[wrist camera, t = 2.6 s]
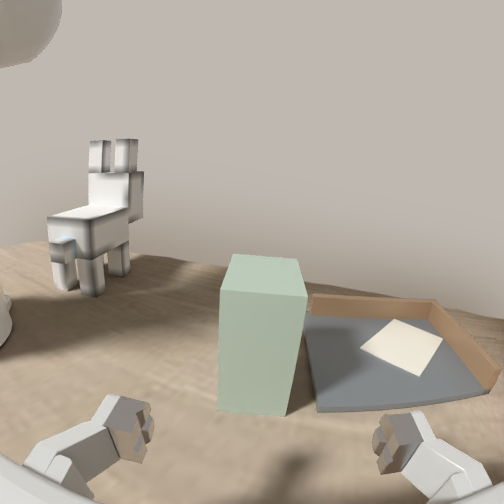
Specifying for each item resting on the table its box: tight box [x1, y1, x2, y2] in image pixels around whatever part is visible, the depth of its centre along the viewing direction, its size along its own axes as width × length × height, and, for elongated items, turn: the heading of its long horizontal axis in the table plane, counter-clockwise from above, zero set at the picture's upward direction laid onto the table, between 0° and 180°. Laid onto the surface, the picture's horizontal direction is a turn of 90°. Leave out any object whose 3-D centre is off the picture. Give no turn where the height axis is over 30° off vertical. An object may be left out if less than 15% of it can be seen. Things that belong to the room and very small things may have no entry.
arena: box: [303, 293, 502, 412], centre depth 27 cm, size 18×16×3 cm
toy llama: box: [47, 139, 144, 297], centre depth 38 cm, size 8×18×20 cm, turn 173°
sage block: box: [217, 254, 308, 417], centre depth 22 cm, size 5×7×10 cm
